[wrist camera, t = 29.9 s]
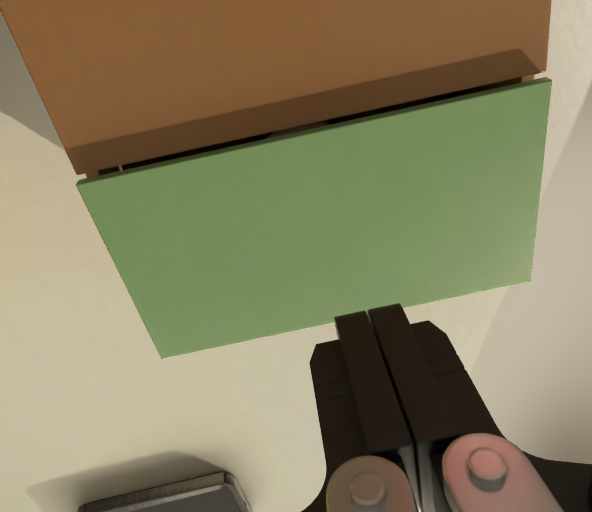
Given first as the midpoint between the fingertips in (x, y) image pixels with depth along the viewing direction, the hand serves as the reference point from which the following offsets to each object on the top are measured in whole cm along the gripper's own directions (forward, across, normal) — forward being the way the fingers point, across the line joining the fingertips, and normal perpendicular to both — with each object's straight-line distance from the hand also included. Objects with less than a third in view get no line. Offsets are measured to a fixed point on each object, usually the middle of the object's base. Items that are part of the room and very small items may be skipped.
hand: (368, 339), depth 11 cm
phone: (+20, +19, +34) cm, 44 cm away
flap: (+8, 0, +1) cm, 8 cm away
